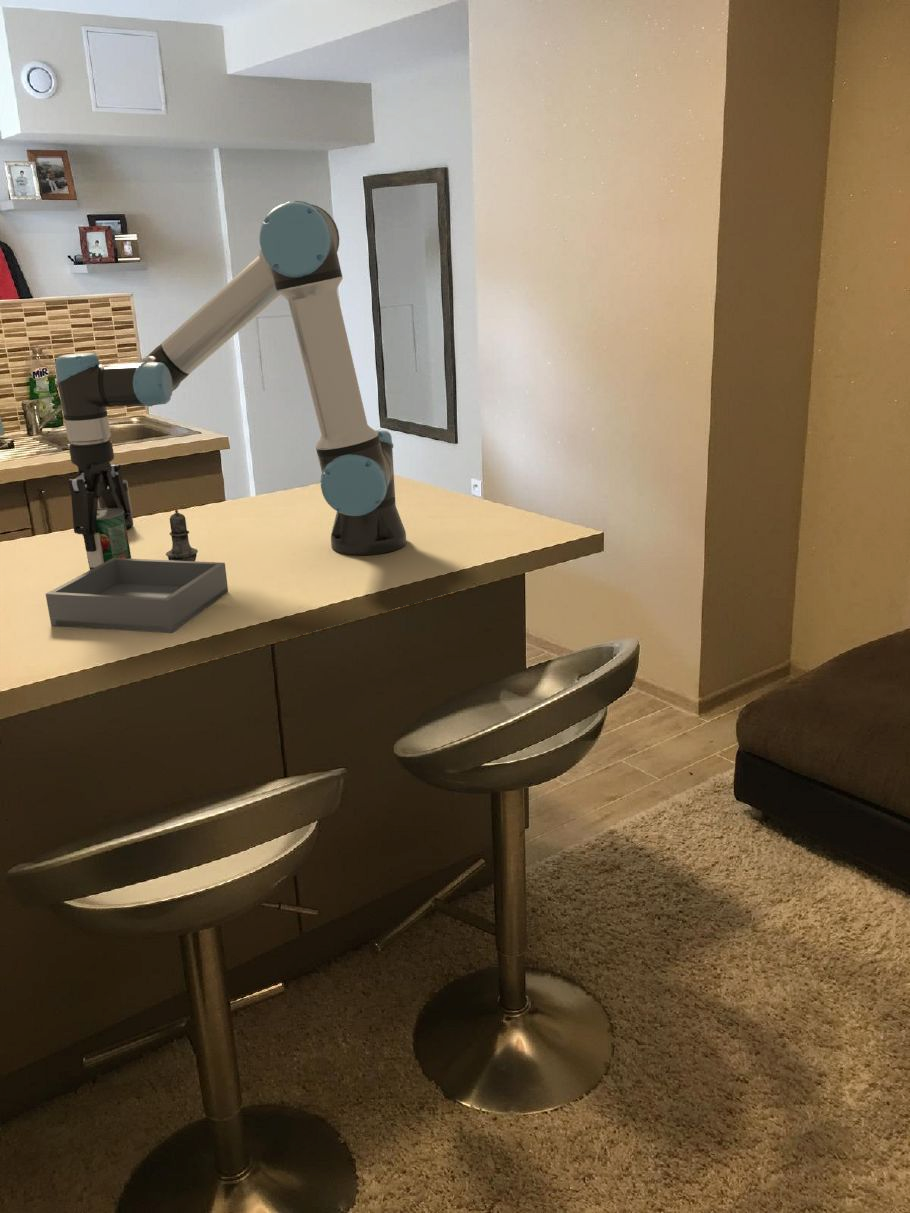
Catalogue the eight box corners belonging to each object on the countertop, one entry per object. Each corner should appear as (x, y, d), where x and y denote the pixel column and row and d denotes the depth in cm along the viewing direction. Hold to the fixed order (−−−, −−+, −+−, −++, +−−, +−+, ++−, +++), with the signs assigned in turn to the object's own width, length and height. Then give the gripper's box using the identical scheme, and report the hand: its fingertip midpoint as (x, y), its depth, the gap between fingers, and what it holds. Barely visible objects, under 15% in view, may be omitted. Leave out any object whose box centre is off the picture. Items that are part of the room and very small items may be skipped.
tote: (228, 592, 179) (224, 562, 177) (172, 633, 161) (167, 600, 159) (117, 586, 184) (113, 557, 182) (51, 625, 166) (45, 593, 164)
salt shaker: (191, 575, 189) (183, 513, 185) (162, 574, 190) (154, 512, 186) (205, 566, 195) (197, 505, 191) (176, 565, 196) (168, 504, 192)
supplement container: (140, 526, 225) (134, 480, 221) (119, 534, 219) (111, 487, 216) (117, 523, 228) (110, 478, 224) (95, 531, 222) (88, 485, 218)
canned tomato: (139, 562, 196) (130, 507, 192) (122, 575, 189) (113, 517, 185) (100, 563, 197) (90, 508, 193) (82, 575, 190) (72, 518, 186)
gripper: (103, 430, 195) (121, 544, 203) (36, 452, 176) (60, 576, 184) (138, 430, 193) (155, 545, 201) (74, 452, 174) (96, 577, 182)
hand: (109, 560), depth 192 cm, fingers closed on canned tomato, 8 cm apart
